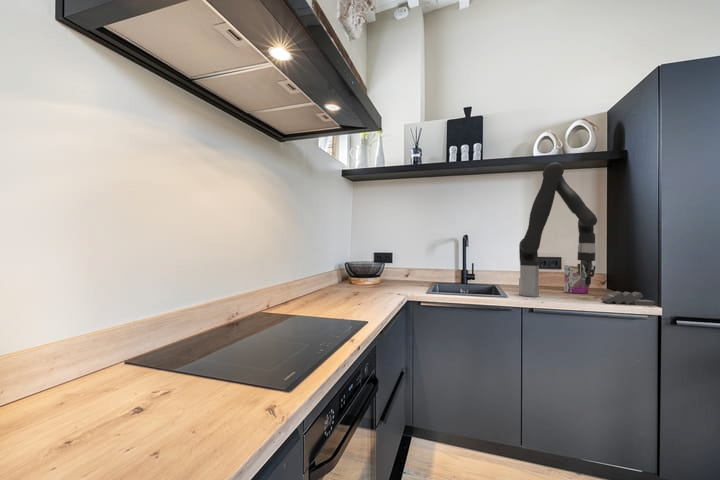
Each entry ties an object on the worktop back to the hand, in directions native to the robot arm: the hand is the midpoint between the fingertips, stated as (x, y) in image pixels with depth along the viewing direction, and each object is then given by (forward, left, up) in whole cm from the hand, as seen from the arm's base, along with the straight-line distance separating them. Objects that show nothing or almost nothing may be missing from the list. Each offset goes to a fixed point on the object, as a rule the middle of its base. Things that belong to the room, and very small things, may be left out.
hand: (585, 283), depth 155 cm
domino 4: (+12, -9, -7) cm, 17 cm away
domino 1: (0, 0, -2) cm, 2 cm away
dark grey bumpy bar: (+8, -9, -7) cm, 14 cm away
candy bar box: (+5, +21, -8) cm, 23 cm away
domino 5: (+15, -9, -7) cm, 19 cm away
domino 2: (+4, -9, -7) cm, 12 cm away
